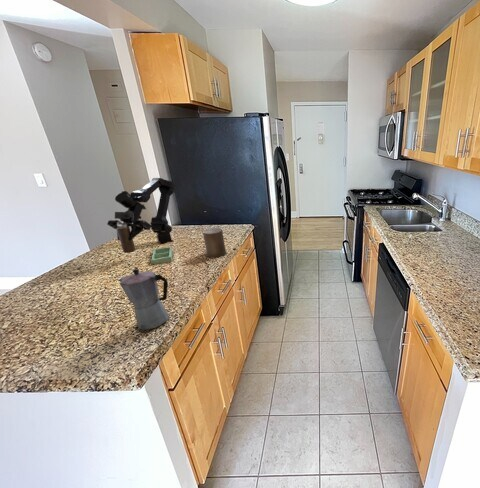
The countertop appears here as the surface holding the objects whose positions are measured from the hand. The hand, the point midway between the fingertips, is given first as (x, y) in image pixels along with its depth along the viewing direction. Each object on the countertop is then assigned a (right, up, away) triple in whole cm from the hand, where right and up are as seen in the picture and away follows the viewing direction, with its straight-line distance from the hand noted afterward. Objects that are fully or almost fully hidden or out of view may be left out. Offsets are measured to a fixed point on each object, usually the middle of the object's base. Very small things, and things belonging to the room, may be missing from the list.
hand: (124, 240), depth 129 cm
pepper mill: (0, -5, +4) cm, 7 cm away
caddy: (+14, -9, +9) cm, 19 cm away
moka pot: (+42, -29, -40) cm, 64 cm away
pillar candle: (+40, -8, +14) cm, 43 cm away
